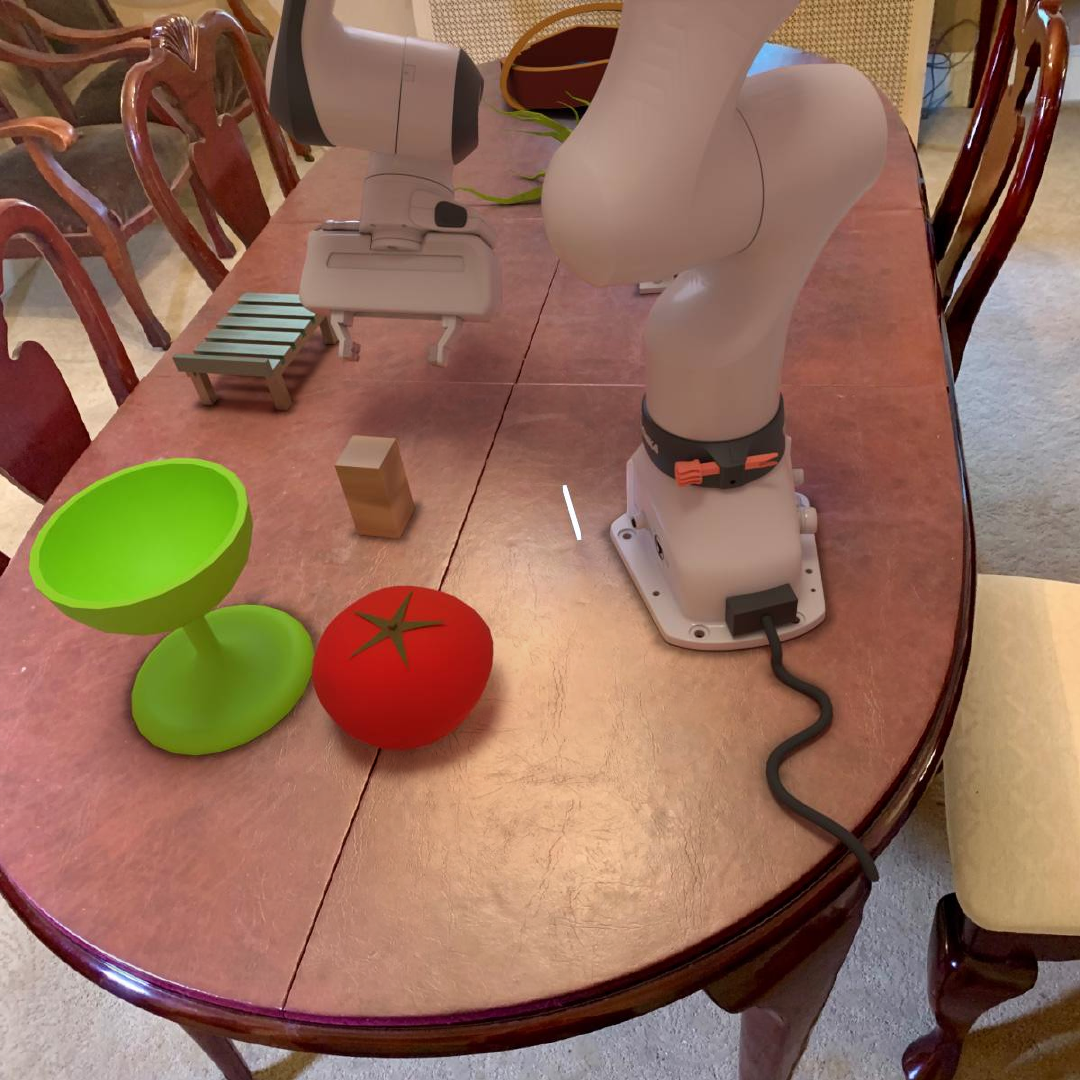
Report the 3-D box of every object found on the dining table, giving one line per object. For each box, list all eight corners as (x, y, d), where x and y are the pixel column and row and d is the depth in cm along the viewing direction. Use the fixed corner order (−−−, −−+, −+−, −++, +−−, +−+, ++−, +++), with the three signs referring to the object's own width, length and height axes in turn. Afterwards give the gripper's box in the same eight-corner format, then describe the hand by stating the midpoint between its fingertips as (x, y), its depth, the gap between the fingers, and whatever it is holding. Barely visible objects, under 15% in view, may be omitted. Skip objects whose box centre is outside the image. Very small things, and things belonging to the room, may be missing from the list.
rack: (285, 416, 109) (265, 362, 104) (195, 410, 112) (171, 357, 107) (342, 337, 120) (326, 284, 115) (259, 333, 123) (240, 281, 118)
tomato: (319, 777, 73) (278, 698, 66) (343, 649, 82) (310, 567, 75) (500, 765, 72) (479, 684, 65) (504, 637, 81) (486, 552, 74)
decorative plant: (491, 163, 155) (477, 68, 144) (658, 181, 142) (655, 79, 132) (432, 211, 144) (412, 112, 134) (607, 235, 132) (599, 129, 121)
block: (374, 504, 96) (352, 434, 90) (415, 508, 95) (396, 438, 89) (357, 534, 93) (333, 465, 87) (399, 539, 92) (378, 468, 86)
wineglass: (165, 611, 88) (79, 464, 76) (330, 602, 87) (270, 451, 74) (103, 758, 77) (-10, 614, 64) (292, 751, 75) (213, 603, 63)
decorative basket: (675, 69, 182) (671, -20, 173) (703, 98, 158) (700, -4, 150) (502, 96, 183) (490, 9, 175) (505, 129, 160) (490, 30, 151)
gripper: (294, 209, 91) (280, 351, 91) (494, 211, 86) (479, 362, 86) (325, 230, 97) (312, 363, 97) (514, 233, 92) (500, 374, 92)
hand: (392, 363), depth 92 cm, fingers open, 8 cm apart
